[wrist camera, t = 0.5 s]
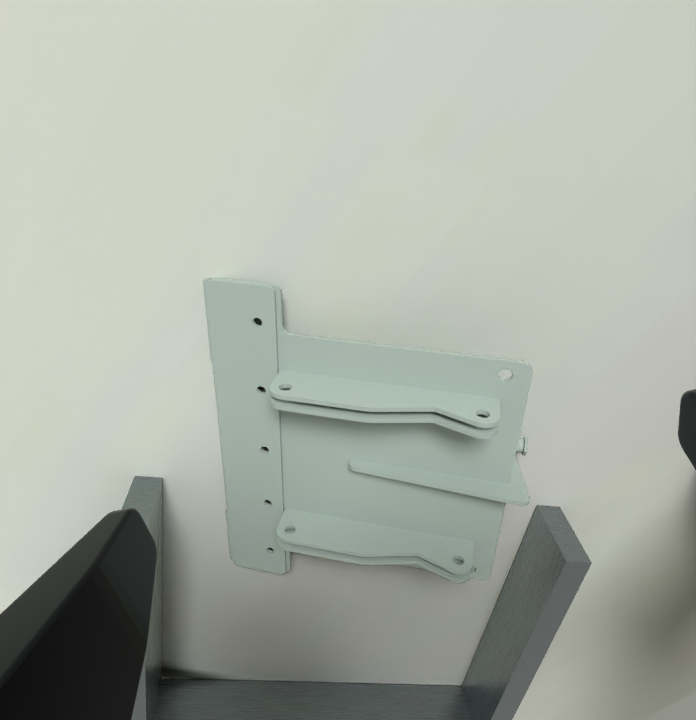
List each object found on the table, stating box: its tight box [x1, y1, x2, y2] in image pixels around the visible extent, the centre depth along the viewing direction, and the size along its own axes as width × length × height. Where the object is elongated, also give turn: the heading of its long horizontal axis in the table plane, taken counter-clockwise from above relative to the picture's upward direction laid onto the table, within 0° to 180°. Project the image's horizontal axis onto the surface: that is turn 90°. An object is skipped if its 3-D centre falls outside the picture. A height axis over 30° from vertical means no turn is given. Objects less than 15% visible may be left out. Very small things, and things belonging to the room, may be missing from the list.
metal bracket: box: [203, 278, 532, 583], centre depth 24 cm, size 14×6×15 cm
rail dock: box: [122, 476, 591, 720], centre depth 28 cm, size 20×16×4 cm
